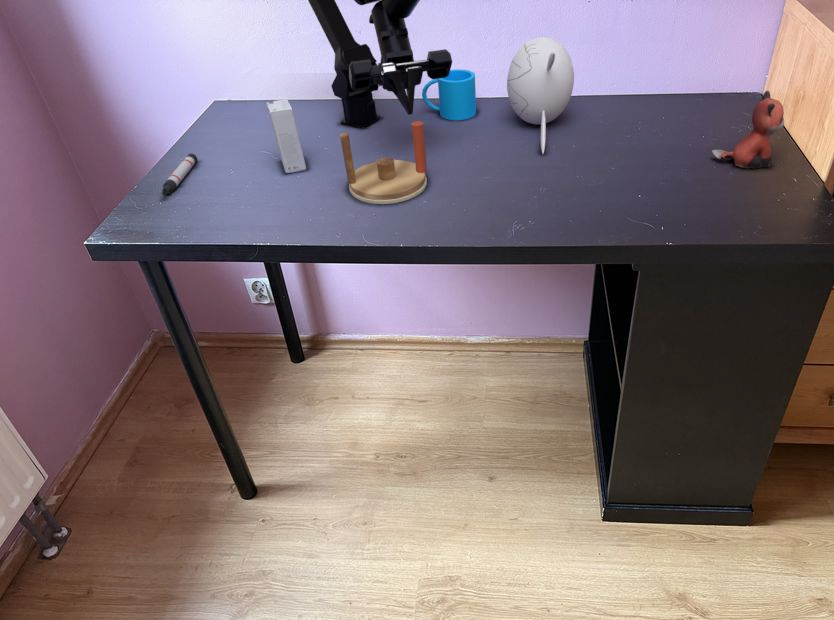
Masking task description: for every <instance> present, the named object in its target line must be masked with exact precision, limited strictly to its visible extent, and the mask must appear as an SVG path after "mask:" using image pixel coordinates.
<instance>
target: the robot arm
mask: <svg viewBox="0 0 834 620" xmlns="http://www.w3.org/2000/svg"><path fill="white" fill-rule="evenodd" d="M307 1H308V3H309V5H310V7H311V9H312V11H313V13H314V15H315V17H316V19H317V21H318V23H319V24H320V27H321V29H322V31H323V33H324V35H325V37H326V38H327V41H328V42H329V45H330V47H331V48H332V51H333V52H334V66H333V68H334V71H335V77H334V79H333V81H332V84H331V89H332V93H333V95H334V97H336V98H338V99H341V104H342V108H343V109H342V110H343V115H344V116H343V117H344V119H341V120H340V124H341V125H345V126H350V127H355V128H359V129H365V128H367V127H368V126H370V125H371V124H373V123H375V122H376V121H378V120H380V119H381V116H380V115H379V114H377V109H376V101H375V100H374V96H373V95H374V94H373V92H377V91H379V87H382V89H383V90H386V91H387V92H392V93H393V95H394V96H395V97H396V99H397V100H398V101H399V103H400V104H401V106H402V107H403V109H404V110H405V112H406V114H407V115H409V116H410V115H413V113H414V103H415V93H416V86H419V85H421V83H422V79H423V73H424V72H426V75H427V77H428V78H430V79H431V80H434V79H439V78H446V77H447V76H449V72H450V70H452V69H451V68H452V65H453V58H452V54H451V52H449V50H447V49H437V50H430V51H427V56H426V59H422V60H421V59H420V60H415V58H414V52H413V49H412V45H411V42H410V37H409V30H408V28H407V24H406V21H405V19H407V18H409V17H410V16H411V15H412V13H413V12H414V10H415V9H416V7H417V6H418V5H419V3H420V1H421V0H353V1H354V2H355V3H356V4H357V5H359V6H365V5H369V4H372V3H375V4H374V5H373V7H372V9H371V10H370V15H369V19H368V23H369V24H372V25H374V30H375V35H376V39H377V43H378V47H379V52H380V62H378V63H377V59H376V58H375V57H374V55H373V52H372V51H371V48H370V47H369V45H368V44H367V43H363V44H360V43H359V42H357V41H356V40H355V38H354V36H353V34H352V32H351V30H350V28H349V26H348V24H347V22H346V20H345V18H344V16H343V13H342V12H341V10H340V8H339V6H338V3H337V2H336V0H307Z"/></svg>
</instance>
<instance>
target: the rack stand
mask: <svg viewBox="0 0 834 620" xmlns="http://www.w3.org/2000/svg"><path fill="white" fill-rule="evenodd" d="M427 180H428V179H427V176H426V175H425V183H424V185H423V186H422V187H421V188H420V189H419V190H417V191H416V192H414V193H412V194H409V195H407V196H403V197H400V198H395V199H385V200H378V199H369V198H365V197H361V196H359V195H357V194H355V193H354V192H353V191H352V190H351V188H350V184H349V183H348V189H349V193H350V194H351V195H352V197H353V198H355V199H356V200H358V201H361V202H363V203H368V204H373V205H391V204H398V203H403V202H405V201H409V200H411V199H413V198H415V197H417V196H419V195H420V194H421V193H423V192H424V191H425V189H426V187H427V185H428V181H427Z"/></svg>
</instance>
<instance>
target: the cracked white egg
mask: <svg viewBox="0 0 834 620" xmlns="http://www.w3.org/2000/svg"><path fill="white" fill-rule="evenodd" d="M574 70H575V69H574V65H573V62H572V58H571V56H570V54H569V52H568V51H567V49H566V48H565V47H564V45H563V44H561V43H560V42H559V41H557V40H556V39H554V38H551V37H547V36H546V37H545V36H539V37H535V38H532V39H530V40H528V41H527V42H525V43H524V44H523V45H521V46H520V47H519V49H518V50H517V52H516V53H515V54H514V56H513V58H512V60H511V62H510V65H509V68H508V73H507V78H506V91H507V97H508V100H509V103H510V105H511V107H512V110H513V111H514V112H515V114H516V115H517V116H518V117H519V118H520V119H521V120H523V121H524V122H526V123H528V124H532V125H540V149H541V150H540V151H541V153H542V155H544V154H545V149H546V143H547V142H546V139H547V127H546V126H547V124H548V123H550V122H552V121H553V120H555V119H557V118H558V117H559V116H560V115H561V114H562V113H563V112H564V110H565V109H566V107H567V106H568V104H569V102H570V100H571V97H572V94H573V90H574V85H575V71H574Z"/></svg>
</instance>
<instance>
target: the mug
mask: <svg viewBox="0 0 834 620" xmlns="http://www.w3.org/2000/svg"><path fill="white" fill-rule="evenodd" d="M434 84H437V87H438V88H437V89H438V102H439V103H438V104H439V106H437V105H435V104H433V103H432V102H430V100H429V98H428V96H427V93H428V90H429V88H430V87H432V85H434ZM421 92H422V93H421V97H422V100H423V102H424V103H425V105H426V106H428V108H430V109H432V110H435V111H437V112H439V115H440V117H441V118H443V119H445V120H448V121H449V120H450V121H462V120H463V121H465V120H468V119H471V118H473V117H475V116H476V115H477V96H476V94H477V93H476V74H475V73H474V71H471V70H469V69H462V68H461V69H459V68H458V69H450V72H449V76H447V77H446V78H439V79H431V80H429V81H428V82H427V83H426V84H425V85H424V87H423V88H422V91H421Z"/></svg>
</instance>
